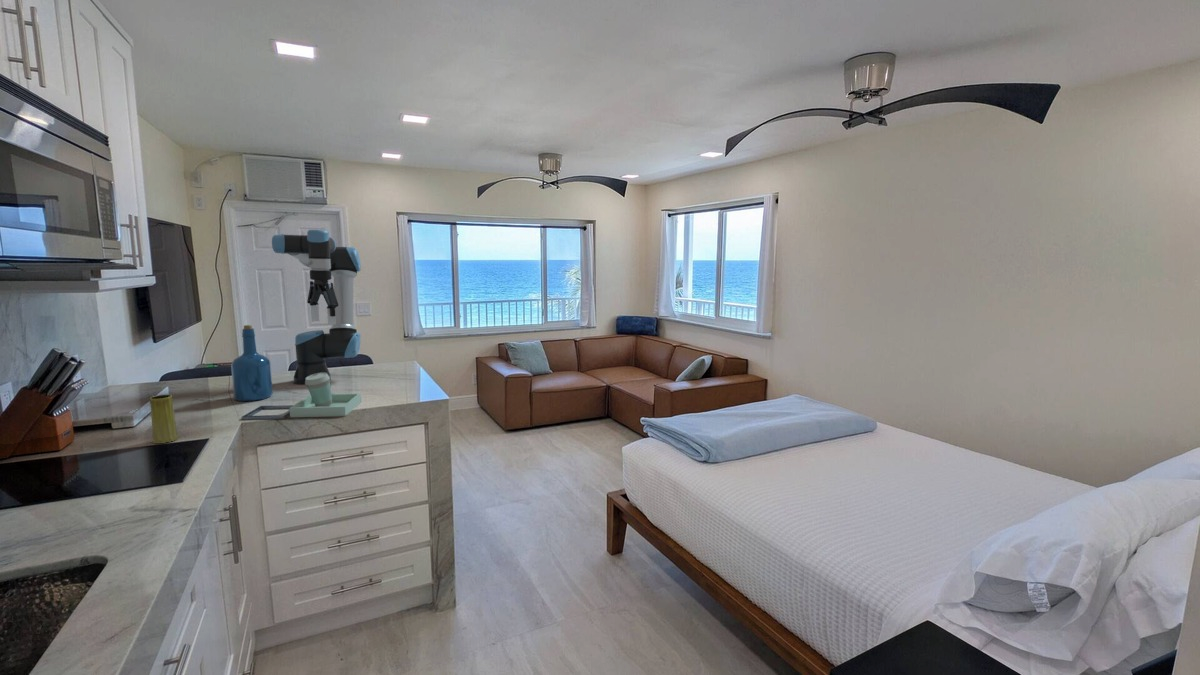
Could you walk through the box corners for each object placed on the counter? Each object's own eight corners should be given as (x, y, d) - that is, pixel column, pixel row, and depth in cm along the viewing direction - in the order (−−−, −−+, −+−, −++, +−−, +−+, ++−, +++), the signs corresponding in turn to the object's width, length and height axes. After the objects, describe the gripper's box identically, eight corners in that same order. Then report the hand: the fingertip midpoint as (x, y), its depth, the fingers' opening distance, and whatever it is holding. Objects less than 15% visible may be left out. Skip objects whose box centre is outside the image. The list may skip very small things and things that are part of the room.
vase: (182, 439, 163) (177, 395, 161) (159, 445, 157) (154, 400, 155) (171, 436, 166) (167, 393, 163) (148, 442, 160) (143, 397, 158)
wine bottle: (273, 399, 209) (268, 326, 204) (233, 404, 201) (226, 328, 197) (272, 391, 220) (266, 322, 215) (234, 395, 212) (227, 324, 208)
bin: (311, 402, 205) (310, 394, 205) (361, 401, 208) (361, 393, 207) (290, 417, 187) (289, 408, 186) (345, 416, 189) (345, 406, 189)
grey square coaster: (261, 408, 196) (260, 405, 196) (300, 407, 199) (299, 405, 198) (241, 419, 183) (241, 417, 183) (283, 418, 185) (283, 416, 185)
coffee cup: (333, 398, 205) (326, 370, 201) (338, 404, 199) (330, 375, 195) (309, 405, 200) (301, 376, 197) (314, 411, 194) (306, 382, 190)
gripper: (295, 268, 207) (299, 320, 211) (326, 271, 193) (329, 326, 196) (315, 268, 213) (318, 319, 217) (345, 270, 199) (348, 325, 202)
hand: (323, 322), depth 206 cm, fingers open, 13 cm apart
